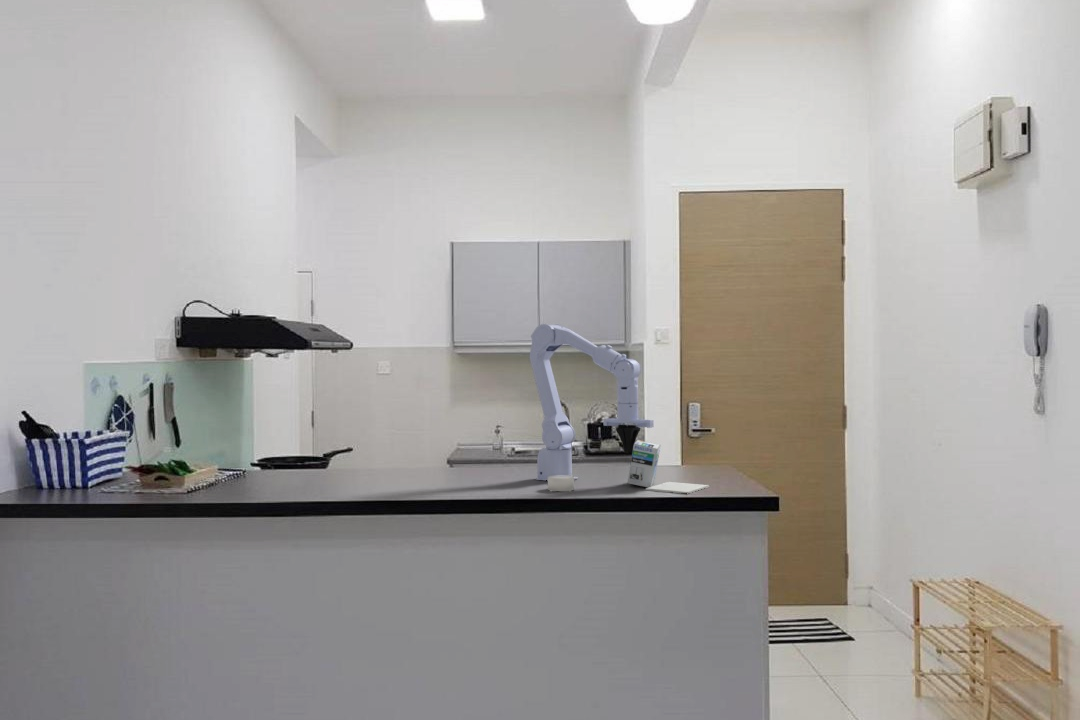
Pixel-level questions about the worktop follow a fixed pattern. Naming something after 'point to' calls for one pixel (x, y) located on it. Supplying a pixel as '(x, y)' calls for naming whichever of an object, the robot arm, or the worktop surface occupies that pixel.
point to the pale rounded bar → (561, 483)
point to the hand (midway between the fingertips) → (628, 453)
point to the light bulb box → (643, 463)
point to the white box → (677, 487)
